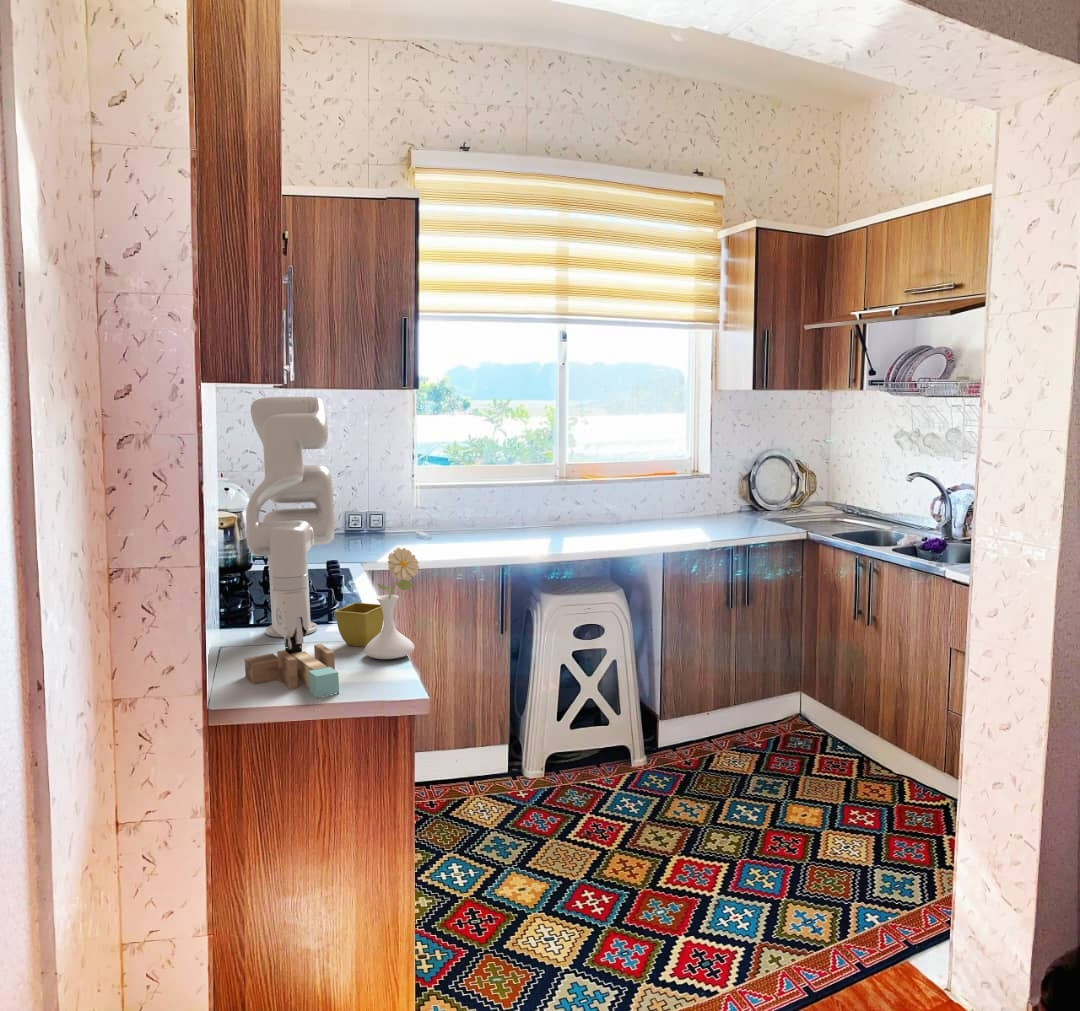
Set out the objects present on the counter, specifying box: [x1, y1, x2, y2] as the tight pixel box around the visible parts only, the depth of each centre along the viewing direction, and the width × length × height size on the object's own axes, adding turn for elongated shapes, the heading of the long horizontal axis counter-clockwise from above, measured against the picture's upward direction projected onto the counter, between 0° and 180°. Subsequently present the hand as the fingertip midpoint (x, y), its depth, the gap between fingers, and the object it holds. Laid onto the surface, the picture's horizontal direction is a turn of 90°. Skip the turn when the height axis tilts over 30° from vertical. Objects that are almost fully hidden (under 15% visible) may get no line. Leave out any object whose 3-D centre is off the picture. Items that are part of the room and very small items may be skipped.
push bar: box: [291, 650, 327, 688], centre depth 179 cm, size 14×3×4 cm, turn 34°
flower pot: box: [334, 602, 384, 648], centre depth 206 cm, size 9×9×9 cm
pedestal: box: [244, 653, 279, 685], centre depth 182 cm, size 6×6×4 cm
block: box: [308, 667, 340, 698], centre depth 171 cm, size 4×4×4 cm
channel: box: [276, 643, 336, 690], centre depth 180 cm, size 8×10×6 cm
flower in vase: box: [364, 547, 420, 660], centre depth 195 cm, size 13×11×25 cm
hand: (294, 665), depth 187 cm, fingers closed
